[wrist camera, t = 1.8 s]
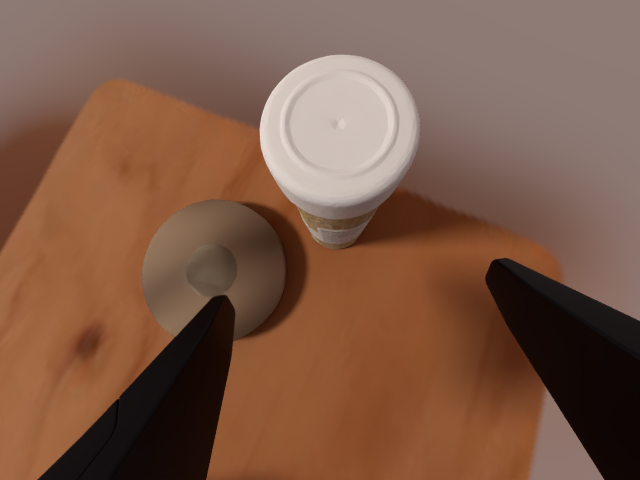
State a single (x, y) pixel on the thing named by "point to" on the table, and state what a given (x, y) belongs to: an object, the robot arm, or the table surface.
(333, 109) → the sprinkles bottle
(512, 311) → the robot arm
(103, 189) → the table surface
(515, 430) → the table surface
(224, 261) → the grey-brown round disc
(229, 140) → the table surface
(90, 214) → the table surface
